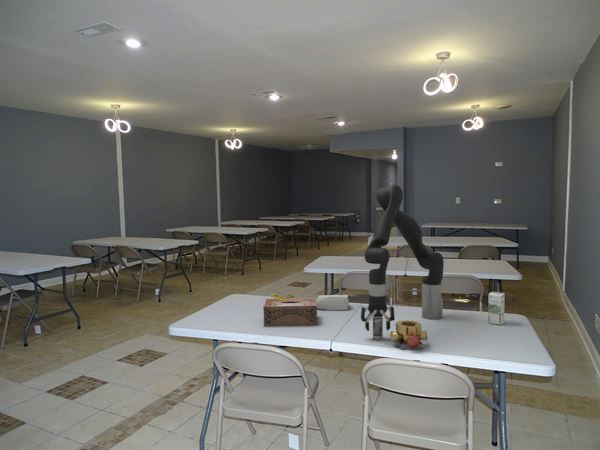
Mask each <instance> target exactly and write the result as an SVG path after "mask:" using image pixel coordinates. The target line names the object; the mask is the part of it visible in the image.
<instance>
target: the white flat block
mask: <svg viewBox="0 0 600 450" xmlns="http://www.w3.org/2000/svg"><path fill="white" fill-rule="evenodd" d="M349 301H350V297H349V295H348V294H325V295H318V297H317V298H316V302H317V308H318V309H319V310H325V311H326V310H327V311H349V310H350V304H349Z"/></svg>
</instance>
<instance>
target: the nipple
mask: <svg viewBox="0 0 600 450" xmlns="http://www.w3.org/2000/svg"><path fill="white" fill-rule="evenodd" d="M383 320H384V318H383V316H382V317H374V316H373V317H372V339H373V340H376V341H381V339H382V340H384V334H383V332H384V330H383V327H384V326H383V325H384V323H383V322H384V321H383Z"/></svg>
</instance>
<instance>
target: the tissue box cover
mask: <svg viewBox="0 0 600 450" xmlns="http://www.w3.org/2000/svg"><path fill="white" fill-rule="evenodd" d="M294 298H295V299H275V298H266V299H265V301H264V304H263V327H309V326H310V327H313V326H316V327H317V326H318V306H317V302H316V299H317V298H316V297H309V298H308V297H307V298H305V297H304V298H303V297H302V298H301V297H300V298H298V297H297V298H296V297H294Z"/></svg>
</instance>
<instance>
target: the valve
mask: <svg viewBox="0 0 600 450" xmlns="http://www.w3.org/2000/svg"><path fill="white" fill-rule="evenodd" d="M422 327H423V325H422V324H421V322H419V321H415V320H410V319H409V320H408V319H407V320H406V319H405V320H404V319H401V320H399V321H396V323H395V331H390V334H389V335H390V341H393V342H395V344H396V345H397V346H398V347H399V349H400V351H401V350H403V351H404V350H424V343H423V342H421V341H427V340H428V332H427V331H426V330H422Z"/></svg>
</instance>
